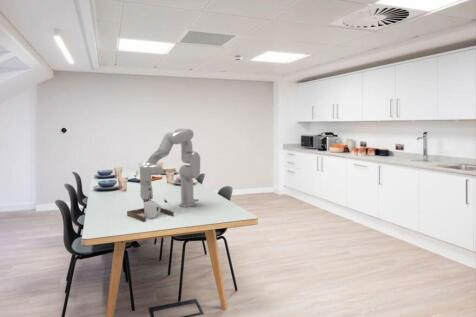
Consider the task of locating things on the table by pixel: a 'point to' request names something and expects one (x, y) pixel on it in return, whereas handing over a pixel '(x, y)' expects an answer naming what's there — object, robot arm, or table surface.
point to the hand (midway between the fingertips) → (146, 208)
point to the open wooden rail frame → (135, 212)
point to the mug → (151, 209)
